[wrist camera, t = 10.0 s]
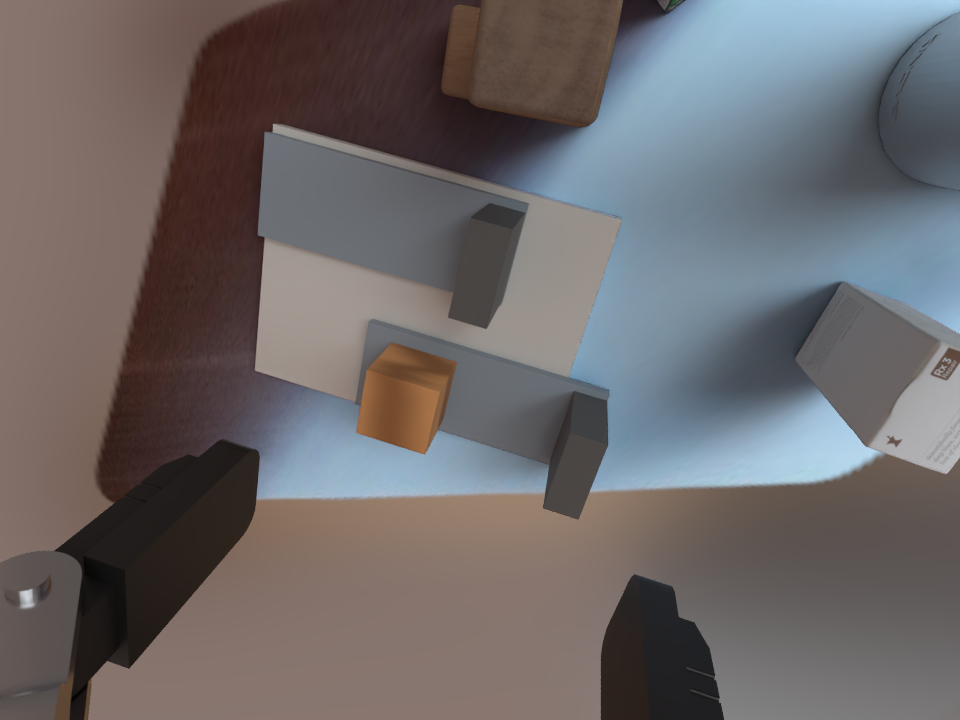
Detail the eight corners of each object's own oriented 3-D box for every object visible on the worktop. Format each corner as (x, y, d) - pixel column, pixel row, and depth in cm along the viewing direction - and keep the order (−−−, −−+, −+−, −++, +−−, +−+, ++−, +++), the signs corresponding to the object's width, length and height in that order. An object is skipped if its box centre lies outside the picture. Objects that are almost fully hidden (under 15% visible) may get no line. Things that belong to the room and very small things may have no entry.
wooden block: (456, 96, 37) (340, 80, 20) (468, 15, 35) (350, -74, 18) (595, 123, 36) (591, 130, 19) (615, 42, 34) (628, -27, 17)
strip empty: (529, 203, 37) (514, 220, 31) (502, 303, 40) (484, 336, 34) (271, 131, 38) (208, 134, 32) (263, 233, 41) (205, 253, 35)
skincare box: (852, 380, 39) (951, 484, 28) (787, 357, 39) (861, 452, 28) (907, 297, 36) (1041, 376, 25) (838, 273, 36) (940, 342, 25)
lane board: (621, 217, 37) (622, 220, 37) (541, 453, 45) (540, 460, 45) (280, 123, 39) (273, 123, 38) (261, 365, 47) (254, 370, 46)
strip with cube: (609, 389, 41) (610, 438, 35) (579, 468, 44) (576, 525, 38) (372, 318, 42) (333, 353, 36) (358, 399, 45) (321, 443, 39)
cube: (457, 362, 42) (439, 392, 37) (443, 419, 44) (424, 454, 39) (392, 342, 42) (366, 369, 37) (381, 400, 44) (356, 432, 40)
